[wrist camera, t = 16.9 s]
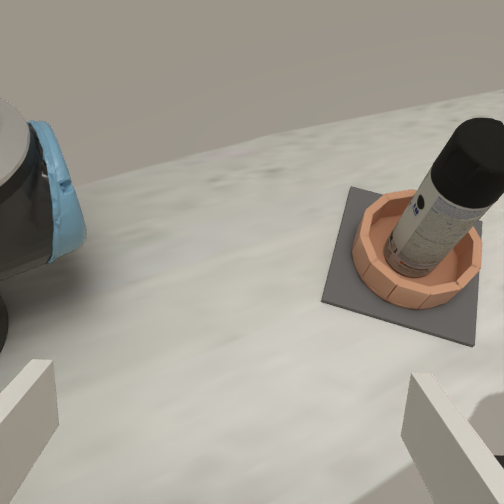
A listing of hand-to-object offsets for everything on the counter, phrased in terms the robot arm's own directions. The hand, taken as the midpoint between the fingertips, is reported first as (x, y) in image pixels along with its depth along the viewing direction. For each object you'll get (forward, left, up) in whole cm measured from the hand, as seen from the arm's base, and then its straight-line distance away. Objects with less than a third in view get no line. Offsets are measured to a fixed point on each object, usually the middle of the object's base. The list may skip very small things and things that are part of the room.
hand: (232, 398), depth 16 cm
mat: (+13, +29, -32) cm, 45 cm away
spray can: (+14, +29, -31) cm, 44 cm away
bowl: (+13, +29, -31) cm, 45 cm away
